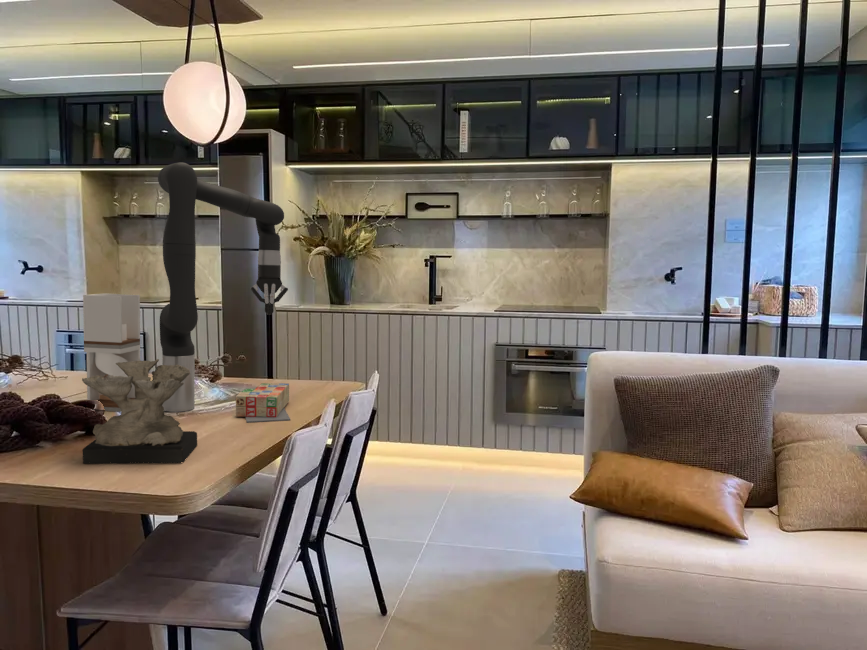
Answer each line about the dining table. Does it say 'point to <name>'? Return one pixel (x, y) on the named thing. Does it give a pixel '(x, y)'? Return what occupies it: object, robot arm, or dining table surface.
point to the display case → (110, 338)
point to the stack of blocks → (262, 400)
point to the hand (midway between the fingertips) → (268, 314)
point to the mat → (269, 418)
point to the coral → (140, 417)
